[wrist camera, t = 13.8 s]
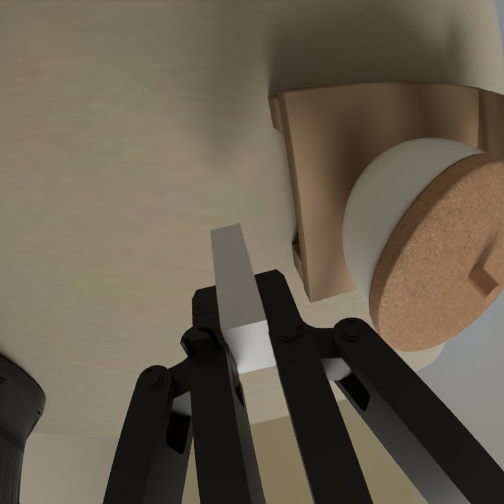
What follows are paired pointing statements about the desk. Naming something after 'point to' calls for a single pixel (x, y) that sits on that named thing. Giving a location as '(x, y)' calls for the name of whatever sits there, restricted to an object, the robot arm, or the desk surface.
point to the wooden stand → (364, 153)
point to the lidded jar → (426, 239)
